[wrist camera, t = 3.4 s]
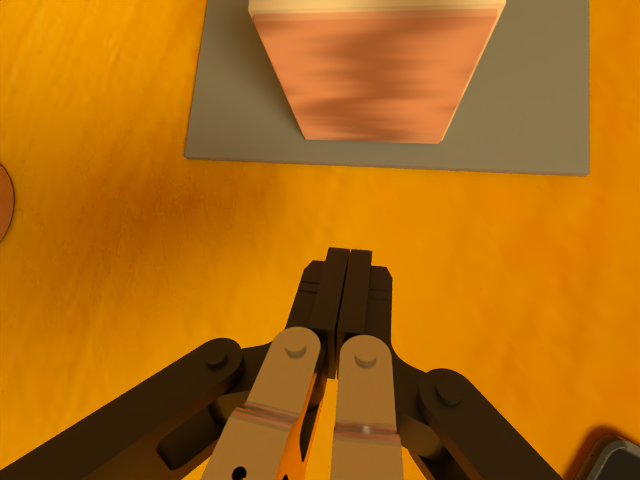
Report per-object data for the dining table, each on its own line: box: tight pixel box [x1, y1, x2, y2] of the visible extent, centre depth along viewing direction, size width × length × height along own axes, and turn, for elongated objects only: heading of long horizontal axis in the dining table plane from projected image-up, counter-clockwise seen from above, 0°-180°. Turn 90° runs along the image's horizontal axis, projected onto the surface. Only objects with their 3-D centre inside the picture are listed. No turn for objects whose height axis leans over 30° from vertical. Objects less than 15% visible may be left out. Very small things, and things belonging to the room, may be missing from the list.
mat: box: [184, 0, 590, 176], centre depth 24 cm, size 26×16×1 cm, turn 84°
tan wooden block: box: [248, 0, 506, 144], centre depth 18 cm, size 9×3×11 cm, turn 84°
